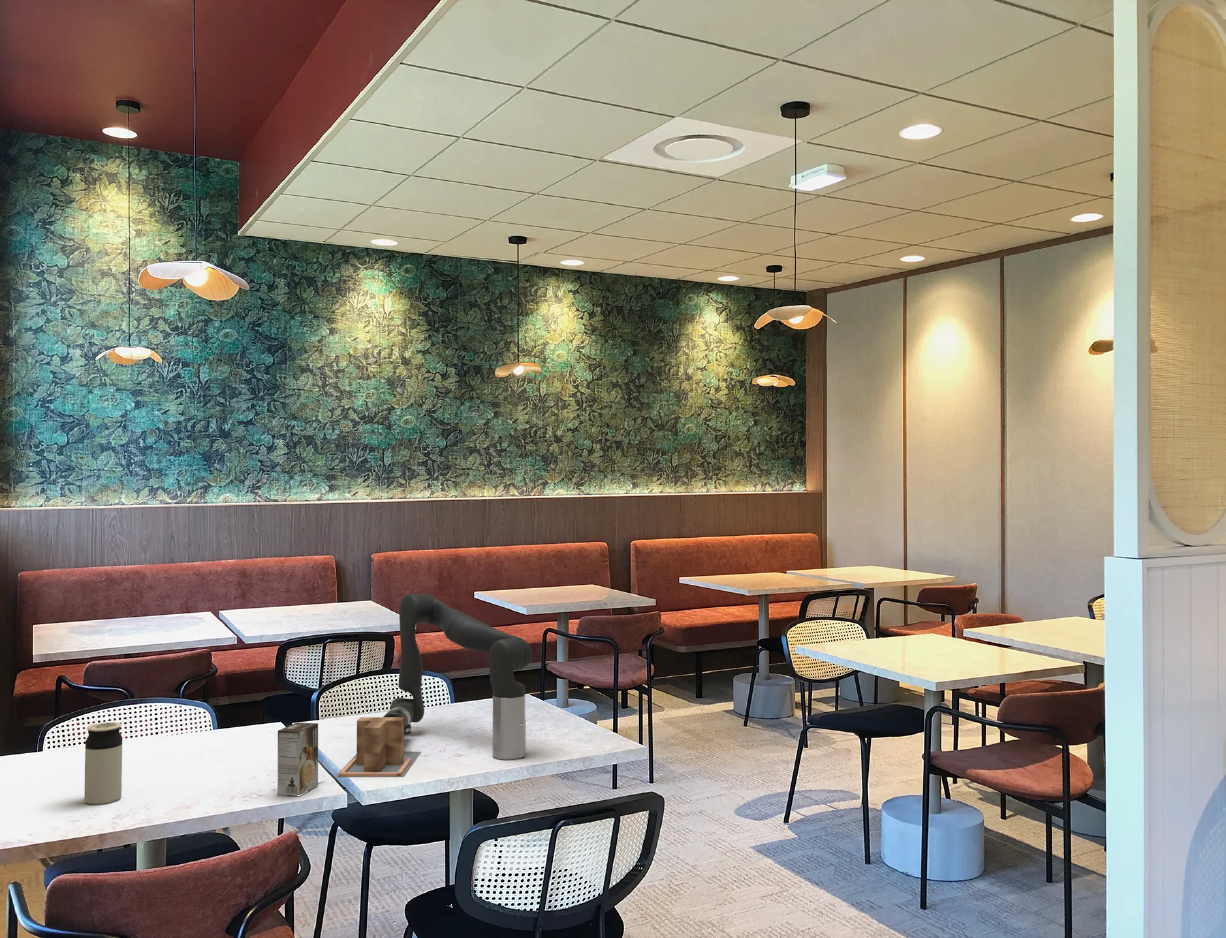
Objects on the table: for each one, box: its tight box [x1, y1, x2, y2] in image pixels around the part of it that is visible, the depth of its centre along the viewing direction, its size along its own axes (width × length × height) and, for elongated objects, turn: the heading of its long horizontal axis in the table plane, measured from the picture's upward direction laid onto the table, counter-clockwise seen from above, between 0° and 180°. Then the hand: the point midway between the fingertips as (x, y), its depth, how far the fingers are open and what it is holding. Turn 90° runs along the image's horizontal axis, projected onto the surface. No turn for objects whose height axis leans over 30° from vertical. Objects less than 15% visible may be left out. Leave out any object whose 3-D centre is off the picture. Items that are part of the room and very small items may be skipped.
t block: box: [356, 716, 405, 772], centre depth 259 cm, size 12×12×12 cm
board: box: [334, 751, 422, 778], centre depth 262 cm, size 18×25×2 cm
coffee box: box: [276, 722, 319, 796], centre depth 242 cm, size 9×6×16 cm
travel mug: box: [83, 721, 123, 806], centre depth 234 cm, size 8×8×18 cm
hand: (382, 736), depth 265 cm, fingers closed
